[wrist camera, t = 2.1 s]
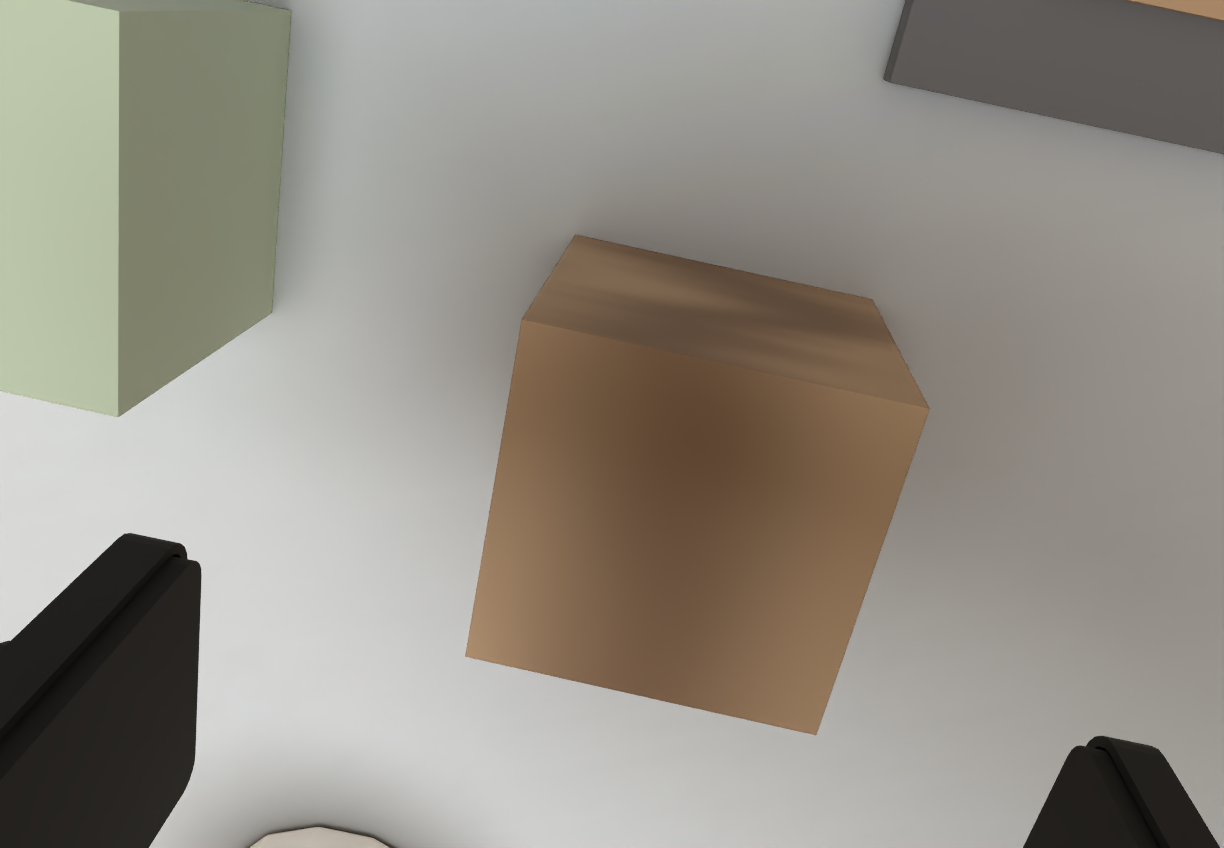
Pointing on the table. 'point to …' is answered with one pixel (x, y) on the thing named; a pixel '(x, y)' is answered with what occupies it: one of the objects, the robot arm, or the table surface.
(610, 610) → the walnut cube
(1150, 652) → the table surface
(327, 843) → the white cup
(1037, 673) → the table surface
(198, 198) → the sage cube
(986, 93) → the tile
